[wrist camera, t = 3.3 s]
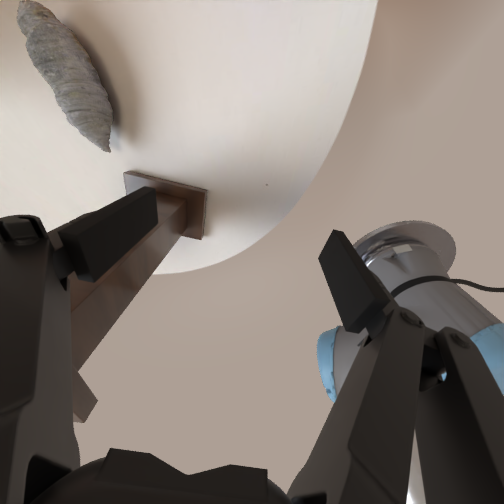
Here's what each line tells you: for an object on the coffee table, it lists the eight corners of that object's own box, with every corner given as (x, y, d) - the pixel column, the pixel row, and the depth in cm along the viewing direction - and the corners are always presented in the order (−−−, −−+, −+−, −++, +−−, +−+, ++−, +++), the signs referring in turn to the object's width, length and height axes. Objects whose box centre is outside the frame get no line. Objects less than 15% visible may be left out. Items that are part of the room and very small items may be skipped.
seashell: (88, 156, 29) (35, 135, 21) (62, 53, 27) (-10, -15, 19) (130, 153, 30) (94, 131, 22) (109, 52, 27) (58, -15, 19)
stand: (207, 190, 34) (48, 370, 9) (203, 236, 40) (97, 425, 15) (128, 170, 33) (-288, 315, 8) (135, 221, 39) (-98, 396, 14)
